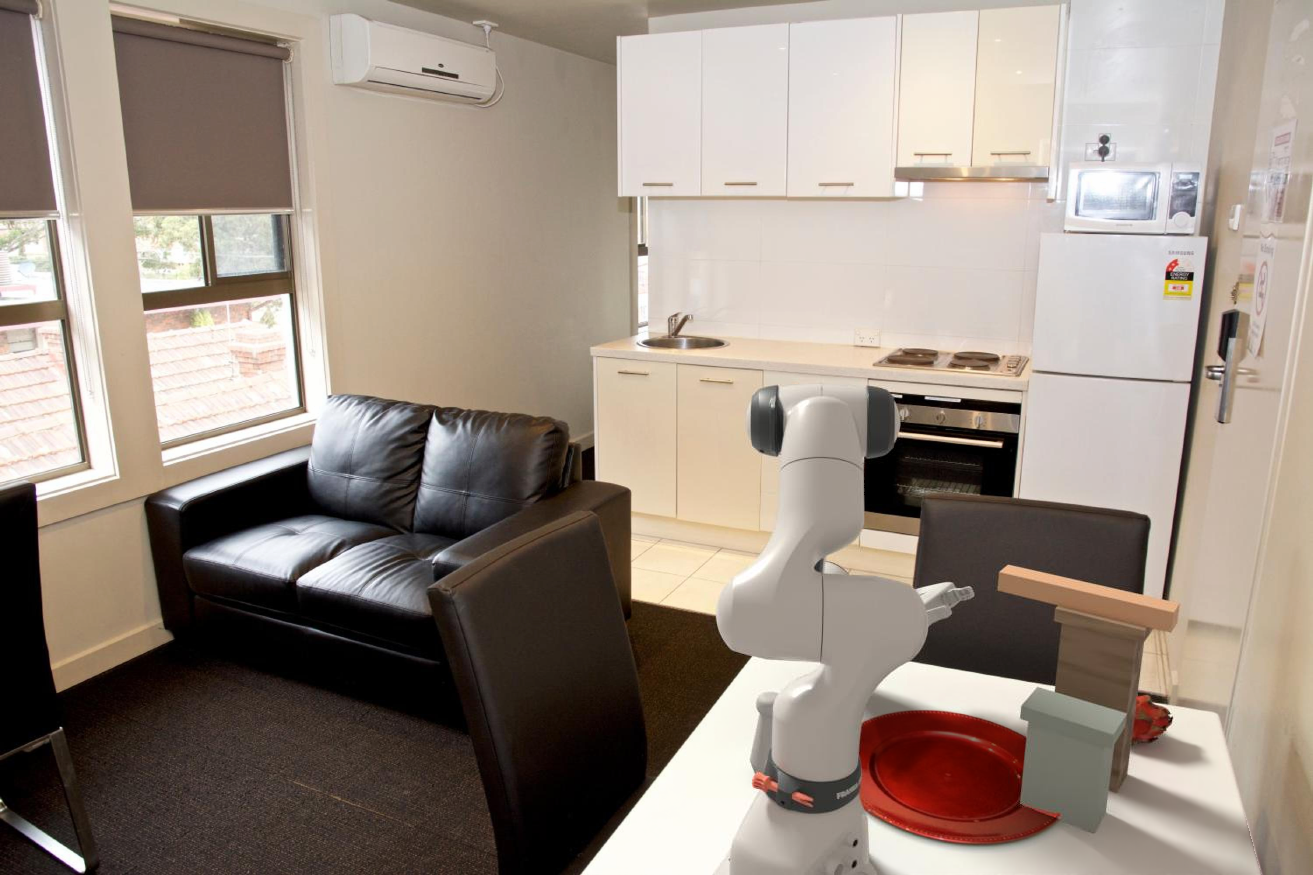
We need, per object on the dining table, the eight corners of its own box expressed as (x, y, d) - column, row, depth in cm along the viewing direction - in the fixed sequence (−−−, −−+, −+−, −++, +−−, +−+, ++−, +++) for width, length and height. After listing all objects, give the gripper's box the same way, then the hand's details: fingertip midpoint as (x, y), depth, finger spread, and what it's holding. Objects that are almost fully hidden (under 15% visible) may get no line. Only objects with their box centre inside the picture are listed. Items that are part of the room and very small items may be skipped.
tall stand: (1123, 796, 138) (1144, 630, 132) (1038, 766, 145) (1055, 608, 139) (1135, 774, 143) (1156, 614, 137) (1052, 747, 151) (1069, 593, 145)
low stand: (1100, 837, 129) (1113, 734, 125) (1011, 803, 136) (1021, 705, 133) (1114, 812, 134) (1126, 713, 131) (1027, 781, 142) (1037, 686, 138)
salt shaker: (787, 764, 146) (790, 687, 143) (789, 786, 140) (792, 706, 137) (749, 762, 146) (751, 685, 143) (749, 784, 141) (751, 704, 138)
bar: (1171, 632, 131) (1173, 612, 131) (997, 590, 146) (999, 571, 145) (1177, 623, 134) (1179, 603, 134) (1006, 582, 149) (1008, 564, 148)
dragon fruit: (1086, 740, 155) (1160, 754, 155) (1109, 736, 148) (1188, 750, 147) (1086, 688, 159) (1158, 700, 158) (1109, 680, 151) (1186, 694, 150)
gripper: (851, 624, 153) (925, 602, 145) (906, 586, 169) (975, 564, 160) (868, 660, 153) (942, 641, 144) (921, 619, 168) (991, 599, 159)
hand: (960, 600), depth 152 cm, fingers open, 8 cm apart
